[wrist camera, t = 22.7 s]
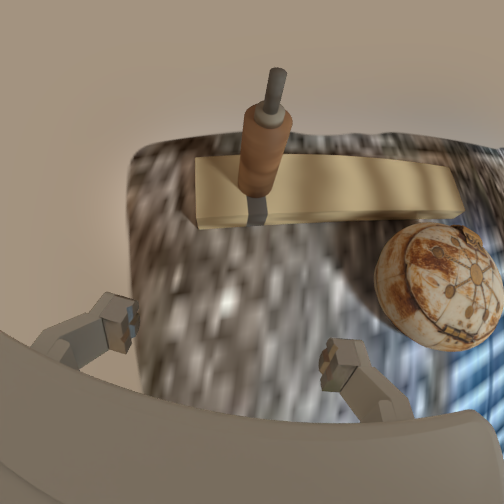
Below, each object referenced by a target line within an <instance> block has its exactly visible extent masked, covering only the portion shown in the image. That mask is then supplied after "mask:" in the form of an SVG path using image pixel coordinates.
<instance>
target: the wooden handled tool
mask: <svg viewBox="0 0 504 504" xmlns="http://www.w3.org/2000/svg"><path fill="white" fill-rule="evenodd" d="M286 76H287V72H286V71H285V70H284V69H282V68H272V69H271V70H270V73H269V78H268V84H267V89H266V94H265V100H264V101H261V102H259V103H258V104H255V105H253V106H251V107H250V108H248V109H247V111H246V112H245V115H244V125H243V133H242V143H241V153H240V163H239V173H238V187H239V189H240V190H241V192H242V193H243V194H245V195H246V196H248V197H251V198H261V197H264V196H266V195H268V194H269V193H270V191H271V190H272V187H273V184H274V181H275V178H276V175H277V171H278V168H279V165H280V162H281V159H282V156H283V153H284V149H285V146H286V143H287V140H288V137H289V134H290V130H291V127H292V117H291V116H290V114H289V113H288V112H287V111H286V110H285V109H284V107H283V106H282V105H281V104H280V101H281V96H282V92H283V88H284V84H285V80H286Z"/></svg>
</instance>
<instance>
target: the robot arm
mask: <svg viewBox="0 0 504 504" xmlns="http://www.w3.org/2000/svg"><path fill="white" fill-rule="evenodd" d="M138 309H139V303H138V301H137V300H134V299H130V298H127V297H124V296H120V295H115V294H113V293H110V292H105V293H104V294H103V295H102V297H101V298H100V299H99V300H98V302H97V303H96V304H95V305H94V307H93V308H92V309H91V311H90V312H89V313H84V314H81V315H79V316H77V317H74V318H72V319H69V320H67V321H64V322H62V323H59V324H57V325H54V326H52V327H49V328H47V329H45V330H43V331H42V332H41V334H40V335H39V336H38V338H37V339H36V340H35V341H34V343H33V344H32V345H31V347H28V346H27V345H24V344H23V343H21V342H19V341H17V340H16V339H14V338H12V337H11V336H9V335H7V334H6V333H4V332H2V331H1V330H0V504H504V459H503V455H502V452H501V448H500V445H499V441H498V438H497V435H496V433H495V431H494V428H493V427H492V425H491V424H490V423H489V422H488V421H487V420H486V419H485V418H484V417H482V416H481V415H480V414H479V413H478V412H476V411H475V410H472V409H469V410H463V411H459V412H454V413H449V414H443V415H438V416H432V417H425V418H418V419H414V416H413V412H412V409H411V406H410V403H409V400H408V398H407V397H406V396H405V395H404V394H403V393H402V392H400V391H399V390H398V389H397V388H396V387H395V386H394V385H393V384H392V383H391V382H390V381H389V380H388V379H387V378H386V377H384V376H383V375H382V374H381V373H380V372H379V371H378V370H377V369H376V368H375V367H372V366H371V363H370V360H369V357H368V354H367V351H366V348H365V345H364V342H363V341H362V340H354V339H342V338H333V337H330V338H329V339H328V341H327V343H326V346H327V348H326V349H324V350H323V351H322V353H321V355H320V359H319V371H320V372H321V374H322V377H321V379H320V381H321V388H322V391H328V392H340V395H341V396H342V397H343V399H344V400H345V401H346V403H347V404H348V405H349V407H350V408H351V409H352V411H353V412H354V414H355V415H356V416H357V418H358V419H359V420H360V423H305V422H289V421H277V420H267V419H259V418H251V417H244V416H237V415H231V414H225V413H219V412H214V411H209V410H204V409H199V408H194V407H190V406H186V405H181V404H177V403H173V402H169V401H166V400H162V399H158V398H155V397H151V396H148V395H144V394H141V393H138V392H135V391H132V390H129V389H125V388H123V387H120V386H117V385H114V384H111V383H108V382H106V381H103V380H100V379H98V378H95V377H93V376H90V375H87V374H85V373H83V372H80V370H79V369H80V368H82V367H83V366H85V365H87V364H88V363H89V362H91V361H93V360H94V359H96V358H97V357H99V356H100V355H102V354H103V353H105V352H107V351H108V350H109V349H110V350H113V351H116V352H120V353H123V354H127V352H128V350H129V348H130V346H131V344H132V342H131V338H133V337H135V336H136V334H137V332H138V330H139V326H140V316H139V314H138V313H137V311H138Z"/></svg>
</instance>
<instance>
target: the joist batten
mask: <svg viewBox="0 0 504 504" xmlns="http://www.w3.org/2000/svg"><path fill="white" fill-rule="evenodd" d="M239 163H240V155H227V156H210V157H196V158H195V193H196V220H197V224H198V228H199V230H202V229H215V228H230V227H245V226H261V225H278V224H296V223H317V222H340V221H367V220H402V219H453V218H455V217H456V216H458V215H460V214H461V213H463V212H464V211H465V208H464V205H463V203H462V200H461V197H460V194H459V191H458V189H457V186H456V183H455V181H454V178H453V176H452V173H451V171H450V169H449V167H444V166H438V165H431V164H424V163H417V162H409V161H401V160H391V159H381V158H370V157H356V156H339V155H314V154H283V156H282V159H281V162H280V165H279V168H278V171H277V175H276V178H275V181H274V184H273V187H272V190H271V191H270V193H269V194H268V195H266V196H264V197H261V198H251V197H248V196H246V195H245V194H243V193H242V192H241V190H240V189H239V187H238V173H239Z"/></svg>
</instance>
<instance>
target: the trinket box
mask: <svg viewBox="0 0 504 504" xmlns="http://www.w3.org/2000/svg"><path fill="white" fill-rule="evenodd" d="M482 246H483V243H482V240H481V238H480V237H479V235H477V234H476V233H474V232H473V231H471V230H470V229H468V228H467V227H465V226H460V225H451V226H447V225H444V224H440V223H431V222H426V223H418V224H414V225H411V226H408V227H406V228H404V229H402V230H401V231H399V232H398V233H396V234H395V235H394V236H393V237H392V238H391V239H390V240H389V241H388V242H387V243H386V245H385V246H384V248H383V250H382V252H381V254H380V257H379V260H378V262H377V264H376V267H375V271H374V287H375V291H376V295H377V298H378V301H379V304H380V306H381V308H382V309H383V312H384V314H385V315H387V316H388V318H389V319H390V320H391V321H392V323H393V324H394V325H395V326H396V327H397V328H398V329H399V330H400V331H401V332H402V333H404V334H405V335H406V336H408V337H409V338H410V339H412V340H413V341H415V342H417V343H418V344H420V345H422V346H425V347H428V348H431V349H436V350H441V351H450V352H455V351H463V350H467V349H470V348H473V347H475V346H477V345H479V344H480V343H482V342H483V341H484V340H486V339H487V338H488V337H489V336H490V335H491V333H492V332H493V331H494V329H495V328H496V326H497V324H498V321H499V319H500V316H501V314H502V310H503V306H504V289H503V283H502V279H501V276H500V273H499V271H498V269H497V267H496V265H495V263H494V261H493V259H492V258H491V256H490V255H489V254H488V252H487V251H486V250H485V249H484V248H483V247H482Z"/></svg>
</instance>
